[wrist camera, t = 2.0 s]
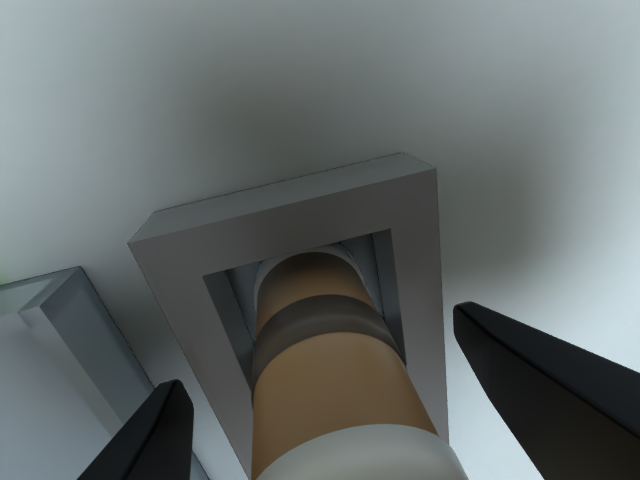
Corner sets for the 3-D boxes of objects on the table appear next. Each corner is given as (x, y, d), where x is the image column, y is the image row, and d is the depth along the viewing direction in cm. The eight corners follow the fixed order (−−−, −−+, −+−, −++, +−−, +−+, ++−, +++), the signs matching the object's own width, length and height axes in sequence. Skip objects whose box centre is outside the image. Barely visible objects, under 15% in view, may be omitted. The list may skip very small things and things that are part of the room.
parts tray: (220, 498, 15) (215, 553, 13) (34, 551, 14) (3, 615, 12) (80, 265, 9) (38, 306, 8) (-221, 340, 9) (-336, 399, 7)
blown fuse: (366, 313, 12) (487, 584, 5) (270, 338, 11) (277, 648, 5) (351, 225, 10) (493, 455, 4) (240, 252, 10) (198, 541, 4)
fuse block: (434, 499, 17) (453, 547, 15) (302, 538, 17) (306, 592, 15) (403, 152, 9) (436, 167, 8) (154, 211, 9) (127, 243, 7)
